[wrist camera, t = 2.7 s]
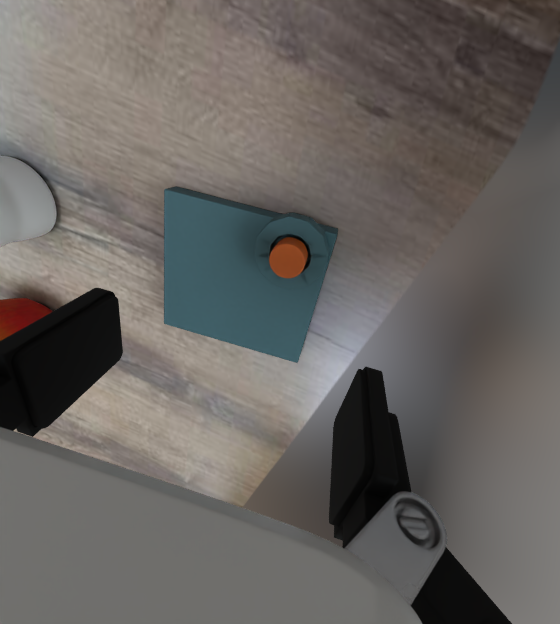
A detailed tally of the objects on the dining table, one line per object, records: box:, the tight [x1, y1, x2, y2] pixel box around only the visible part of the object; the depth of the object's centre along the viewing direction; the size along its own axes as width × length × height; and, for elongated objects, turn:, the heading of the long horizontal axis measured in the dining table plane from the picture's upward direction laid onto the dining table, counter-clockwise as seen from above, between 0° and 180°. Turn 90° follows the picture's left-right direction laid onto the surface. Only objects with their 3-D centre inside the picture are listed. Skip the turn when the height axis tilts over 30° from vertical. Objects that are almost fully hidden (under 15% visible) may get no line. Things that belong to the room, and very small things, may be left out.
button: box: [269, 237, 308, 278], centre depth 22 cm, size 3×3×2 cm
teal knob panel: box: [164, 187, 338, 363], centre depth 26 cm, size 14×14×4 cm
